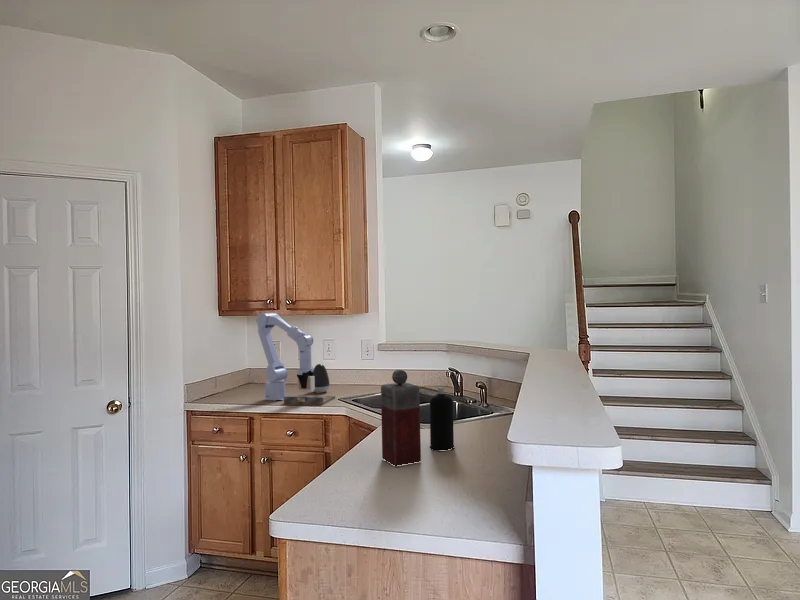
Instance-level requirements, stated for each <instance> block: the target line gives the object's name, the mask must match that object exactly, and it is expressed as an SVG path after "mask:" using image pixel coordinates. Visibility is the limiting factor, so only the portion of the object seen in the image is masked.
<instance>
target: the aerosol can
mask: <svg viewBox="0 0 800 600" xmlns="http://www.w3.org/2000/svg"><path fill="white" fill-rule="evenodd" d="M428 403H429V436H430V445H429V449H430V448H431V449H433V450H432V451H434V450H448V449H451V448H453V447H455V443H454V441H455V439H454V437H455V436H454V433H455V432H454V399H453V398H452V397H451V396H449V395H447V394H445V387H443V386H441V387H440V386H439V387H438V388H437V394H434V395H432V397H431V398H430V399H428ZM431 449H430V450H431Z"/></svg>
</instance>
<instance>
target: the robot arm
mask: <svg viewBox="0 0 800 600" xmlns="http://www.w3.org/2000/svg"><path fill="white" fill-rule="evenodd" d="M256 324H257V333H258V336H259V340H260V343H261V345H262V348H263V349H262V350H263V351H264V352H263V353H264V354H265V355H264V356H265V358H266V360H267V364H268V365H267V367H266V368H265V370H266V379H267V382H265V386H264V401H276V400H282V401H284V396H286V384H285V383H286V379H287V378H288V375H289V372H288V370H287V368H286V367H285V364H284V363H282V362H281V361H280V359H279V356H278V353H277V350H276V347H275V344H274V341H273V338H272V335H271V331H272V330H273V328H274V327H276V326H277V327H278V328H280V329H281V330H282V331H284V332H285V333H287V337H289V338H290V339H292V340H293V341H294V342H295V343H296V345H297V348H298V351H299V370H297V373H296V377H297V380H298V379H299V381H300V384H301V388H302V389H306V386H307V379H308V376H313V375H314V372H313V370H314V366H312V346H313V344H314V338H313V336H312V335H311V334H306V332H304V331H302V330H301V329H299V326H295V325H294V326H291V325H290V324H289V323H287V322H286V321H285V320H284V319H283V318H282V317H280V314H278V313H276V312H265V313H264V312H260V313H259V314H258V315H257V318H256Z"/></svg>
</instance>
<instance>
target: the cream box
mask: <svg viewBox="0 0 800 600" xmlns="http://www.w3.org/2000/svg"><path fill="white" fill-rule="evenodd" d="M314 390H315V376H308V379H307V386H306V389H302V388H301V384H300V381H299V379H298V378H297V392H298V393H299V392H300V393H301V392H303V393H304V392H305V393H306V392H307V393H313V392H314Z"/></svg>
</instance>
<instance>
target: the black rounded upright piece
mask: <svg viewBox="0 0 800 600" xmlns="http://www.w3.org/2000/svg"><path fill="white" fill-rule="evenodd" d="M313 369H314V370H313V371H312V372H314V375H313V376H315V390H314V391H313V392H314V393H316V394H321V393H322V394H323V392H324V393H326V392H327V391H328V390H329V387H330V385H331V384H330V377H329V375H328V371H327V368H326V367H325V366H324V364H322V363H318V364H317V363H316V365H314V367H313Z"/></svg>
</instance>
